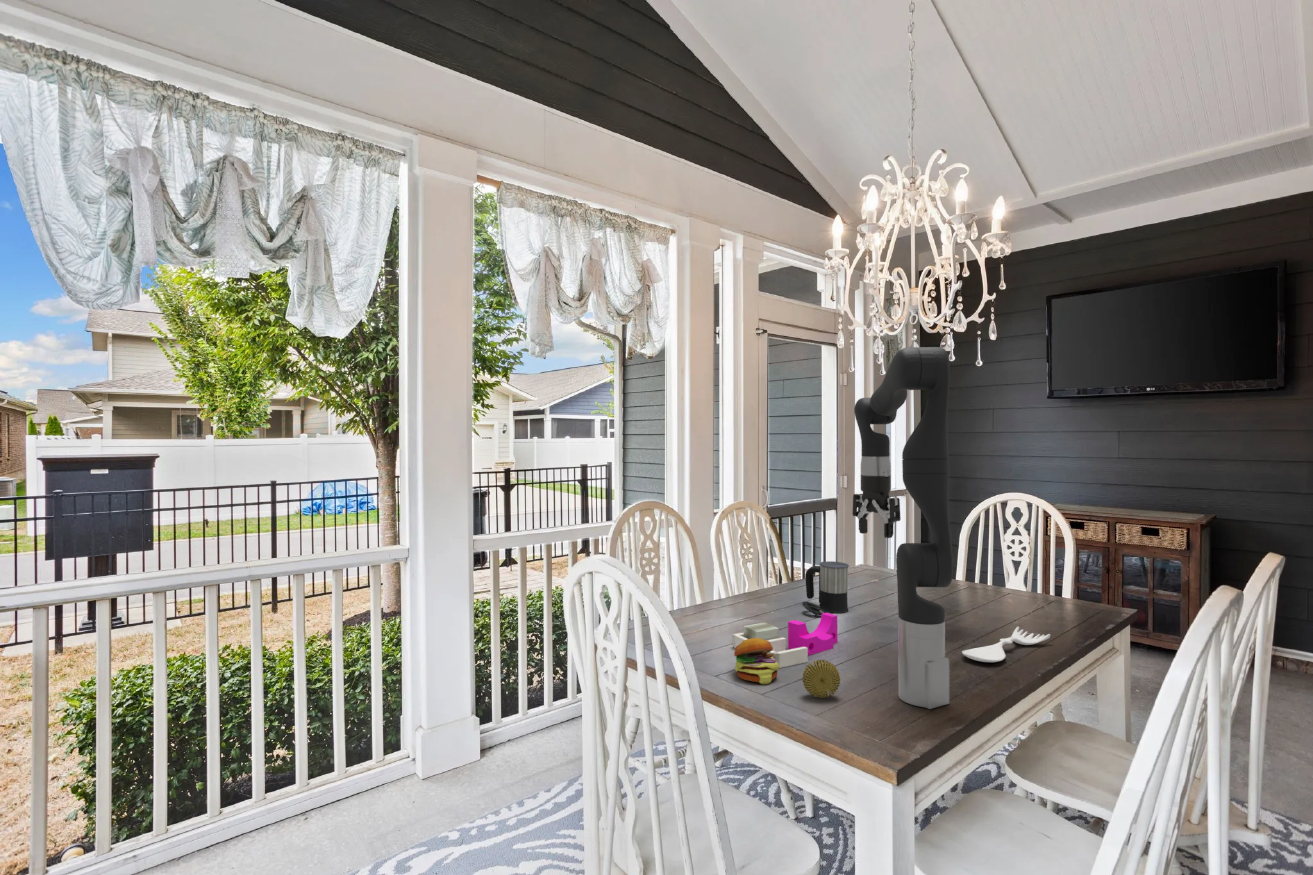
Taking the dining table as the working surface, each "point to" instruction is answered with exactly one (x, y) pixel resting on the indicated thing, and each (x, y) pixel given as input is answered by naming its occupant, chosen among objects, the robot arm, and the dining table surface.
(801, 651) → the lane rack
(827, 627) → the toy block
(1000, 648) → the white long tined part
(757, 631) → the sage block
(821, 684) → the sculpture
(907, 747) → the dining table surface
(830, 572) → the milk frother
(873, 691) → the dining table surface
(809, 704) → the dining table surface
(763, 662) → the cheeseburger
